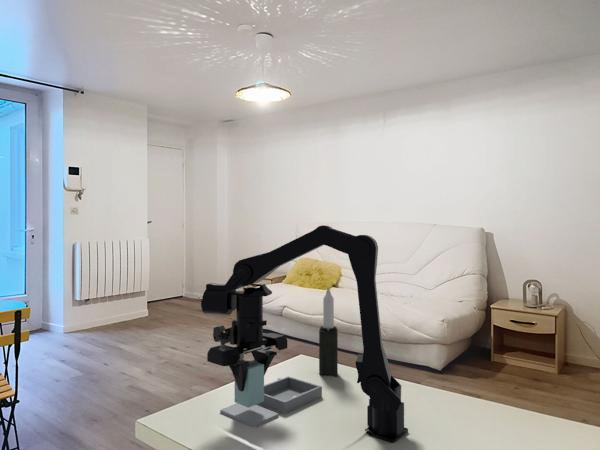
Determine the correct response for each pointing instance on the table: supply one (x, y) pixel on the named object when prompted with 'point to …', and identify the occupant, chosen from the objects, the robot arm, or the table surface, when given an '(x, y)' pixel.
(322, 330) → the black grey pointed bar
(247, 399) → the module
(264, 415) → the lid panel
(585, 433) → the table surface
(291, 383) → the case
